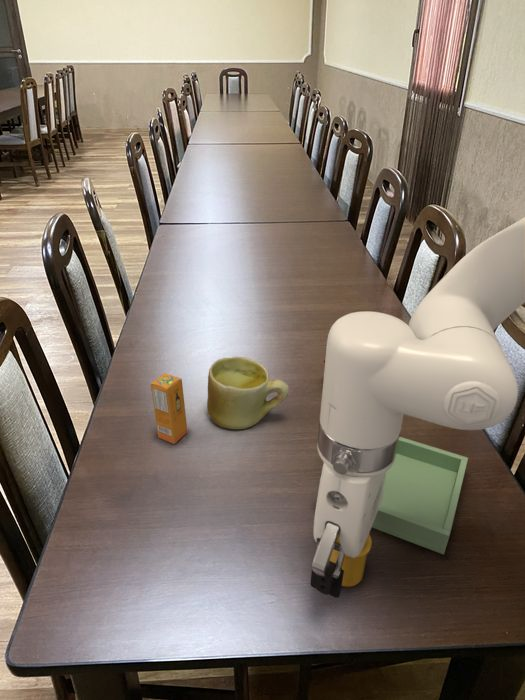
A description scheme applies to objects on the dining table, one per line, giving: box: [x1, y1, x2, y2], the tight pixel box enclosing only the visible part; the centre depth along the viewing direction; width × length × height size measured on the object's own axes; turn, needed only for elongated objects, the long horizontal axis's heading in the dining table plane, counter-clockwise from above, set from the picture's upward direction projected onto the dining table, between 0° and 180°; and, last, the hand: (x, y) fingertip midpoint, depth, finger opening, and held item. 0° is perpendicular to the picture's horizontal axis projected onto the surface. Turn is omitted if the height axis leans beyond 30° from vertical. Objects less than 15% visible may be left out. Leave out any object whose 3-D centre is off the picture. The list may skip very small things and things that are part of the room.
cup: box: [330, 534, 373, 587], centre depth 59 cm, size 5×5×5 cm
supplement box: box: [150, 373, 188, 445], centre depth 78 cm, size 3×3×10 cm
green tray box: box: [371, 436, 469, 555], centre depth 71 cm, size 16×15×3 cm
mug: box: [206, 356, 290, 430], centre depth 82 cm, size 12×10×10 cm
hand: (340, 555), depth 60 cm, fingers open, 9 cm apart
